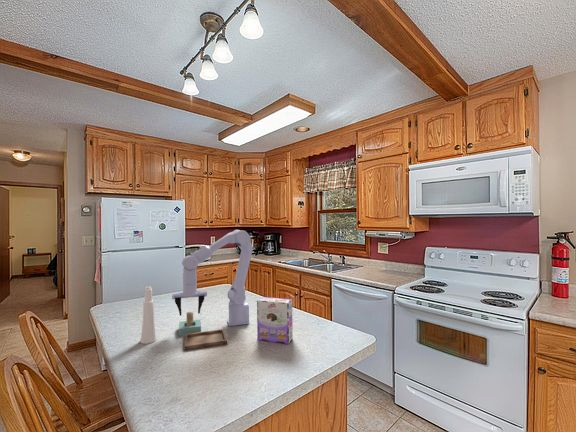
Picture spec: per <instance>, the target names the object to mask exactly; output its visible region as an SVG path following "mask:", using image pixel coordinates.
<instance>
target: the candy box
mask: <svg viewBox="0 0 576 432" xmlns="http://www.w3.org/2000/svg"><path fill="white" fill-rule="evenodd" d="M256 315H257V317H256V320H257V321H256V322H257V323H256V324H257V326H256V327H257V331H256V332H257V334H256V335H257V336H256V337H257V339H256V340H258V341H265V342H270V343H276V344H277V343H279V344H285V345H289V344H290V343H291V342H292V340H293V331H294V330H293V321H294V320H293V299H292V298H291V299H288V298H277V297H267V296H262V297H261V298H259V299H258V300H256Z"/></svg>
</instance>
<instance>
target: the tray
mask: <svg viewBox="0 0 576 432" xmlns="http://www.w3.org/2000/svg"><path fill="white" fill-rule="evenodd" d="M228 340H229V339H228V338H227V334H226V331H225V328H220V329H213V330H207V331H206V330H205V331H201V332H196V333H189V334H185V336H184V351H191V350H197V349H199V350H200V349H205V348H211V347H216V346H217V347H218V346H224V345H229V344H228Z"/></svg>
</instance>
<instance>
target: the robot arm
mask: <svg viewBox="0 0 576 432" xmlns="http://www.w3.org/2000/svg"><path fill="white" fill-rule="evenodd" d="M228 244H236V245H237V246H238V248H239V249H240V255H239V259H238V263H237V266H236V267H237V268H236V272H235V276H234V281H233V283H231V286H230V289H229V290H228V291H227V299H228V300H229V302H228V319H226V321H227V324H228V327H233V326H241V325H249V324H250V305H249V303H248V302H245V301H246V299H247V298H246V286H245V284H246V280H247V275H248V272H249V267H250V262H251V259H252V253H253V249H254V248H253V244H252V241H251V235H250V234H249V232H247V231H246V230H243V229H242V230H240V229H234V230H233V231H231V232H228V233H227V234H225V235H223V237H220V238H219V239H218V240H216V241H215V242H213V243H212V244H210V245H209V246H208V245H204V246H203V245H201V246H199V248H198V249H197V250H196V251H194V252H190V254H189V255H186V256H184V258H183V259H182V261H181V264H182V266H183V269H182V271H183V273H182V292H179V293H178V292H176V293H172V294H171V300H174V303H175V305H176V307H177V309H178V314H179V316H181V317H182V299H187V298H188V299H189V298H197V299H198V302H197V303H198V306H197V314H199V315H200V314H201V308H202V305H203V303H204V302H205V297H206V298H207V297H208V291H207V290H205V291H204V290H203V291H201V290H198V289H197V287H198V286H197V285H198V283H197V282H198V281H197V276H198V275H197V273H198V272H197V268H198V266H199V265H200V264H202V263H204V262H205V261H207V260H208V259H210V258H211V257H212V256H213V254H214V253H215V252H216V251H218V250H219V249H221V248H222V247H225V246H226V245H228ZM197 290H198V291H197Z"/></svg>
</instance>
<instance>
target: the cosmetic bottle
mask: <svg viewBox="0 0 576 432" xmlns="http://www.w3.org/2000/svg"><path fill="white" fill-rule="evenodd" d="M141 323H142V325H141V334H140V341H139V342H140V344H142V345H148V344H152V343H154V342H156V341H157V332H156V323H155V305H154V300H153V289H152V286H151V285H148V286H145V289H144V301H143V305H142V322H141Z"/></svg>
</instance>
